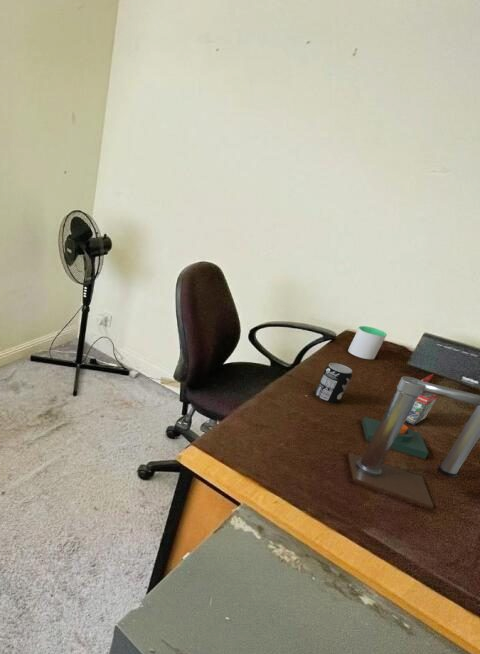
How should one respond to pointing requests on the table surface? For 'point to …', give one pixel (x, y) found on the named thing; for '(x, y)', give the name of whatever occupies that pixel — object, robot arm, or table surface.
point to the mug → (367, 342)
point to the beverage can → (333, 382)
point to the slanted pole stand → (371, 464)
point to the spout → (471, 432)
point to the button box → (398, 439)
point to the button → (403, 429)
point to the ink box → (422, 405)
